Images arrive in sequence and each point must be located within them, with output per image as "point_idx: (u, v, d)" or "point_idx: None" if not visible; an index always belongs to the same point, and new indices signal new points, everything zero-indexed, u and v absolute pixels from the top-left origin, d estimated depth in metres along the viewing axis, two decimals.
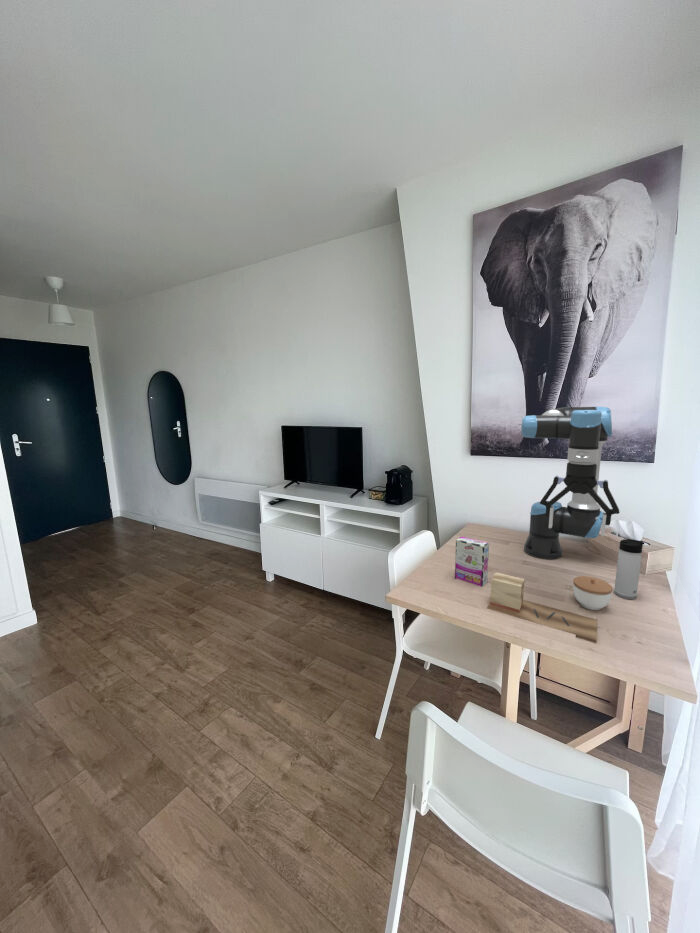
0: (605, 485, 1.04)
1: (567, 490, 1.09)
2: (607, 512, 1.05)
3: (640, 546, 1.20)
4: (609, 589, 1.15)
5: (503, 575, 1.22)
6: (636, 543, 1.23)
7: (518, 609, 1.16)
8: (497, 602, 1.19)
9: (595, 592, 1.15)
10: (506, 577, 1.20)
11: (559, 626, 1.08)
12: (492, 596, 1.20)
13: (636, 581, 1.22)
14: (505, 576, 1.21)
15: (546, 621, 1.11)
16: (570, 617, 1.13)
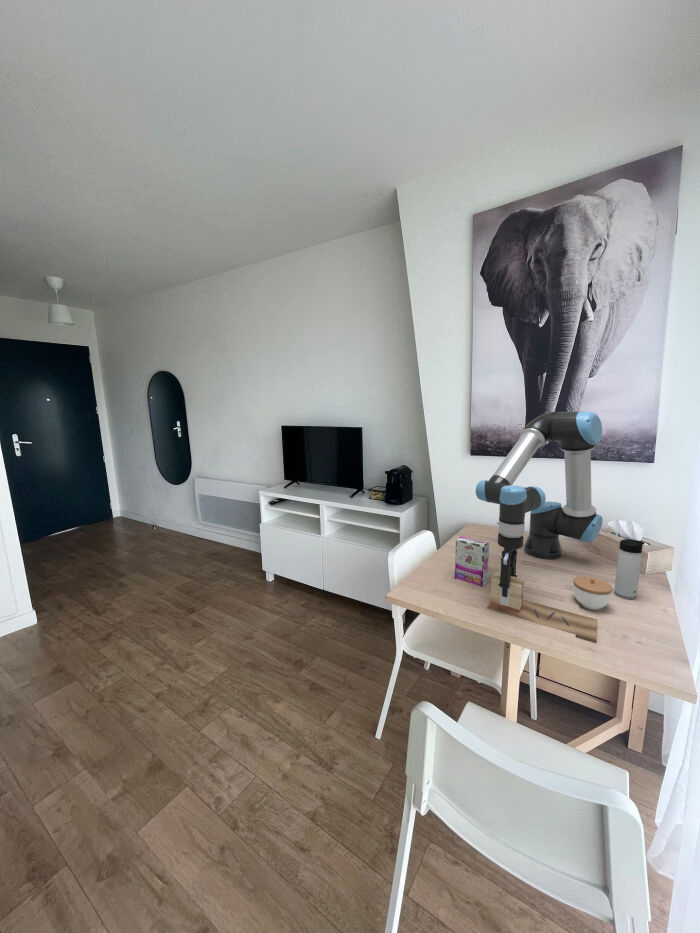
0: None
1: None
2: None
3: (640, 546, 1.20)
4: (609, 589, 1.15)
5: None
6: (636, 543, 1.23)
7: (518, 609, 1.16)
8: (497, 602, 1.19)
9: (595, 592, 1.15)
10: None
11: (559, 626, 1.08)
12: (492, 596, 1.20)
13: (636, 581, 1.22)
14: None
15: (546, 621, 1.11)
16: (570, 617, 1.13)
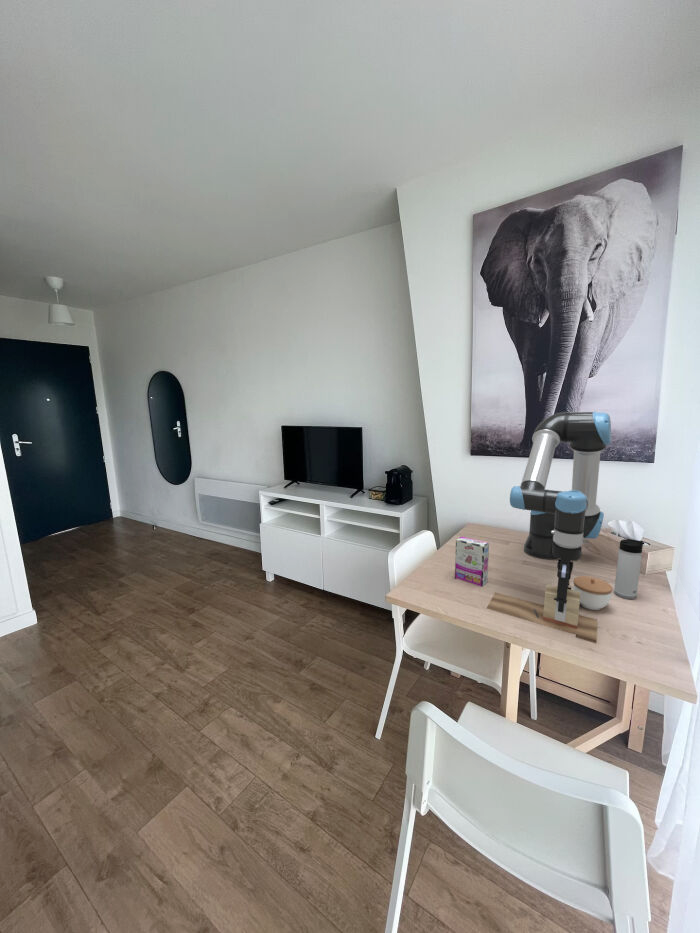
0: (558, 573, 1.05)
1: None
2: None
3: (640, 546, 1.20)
4: (609, 589, 1.15)
5: (556, 587, 1.13)
6: (636, 543, 1.23)
7: (576, 625, 1.07)
8: (551, 617, 1.10)
9: (595, 592, 1.15)
10: None
11: (559, 626, 1.08)
12: (545, 610, 1.11)
13: (636, 581, 1.22)
14: None
15: (546, 621, 1.11)
16: None
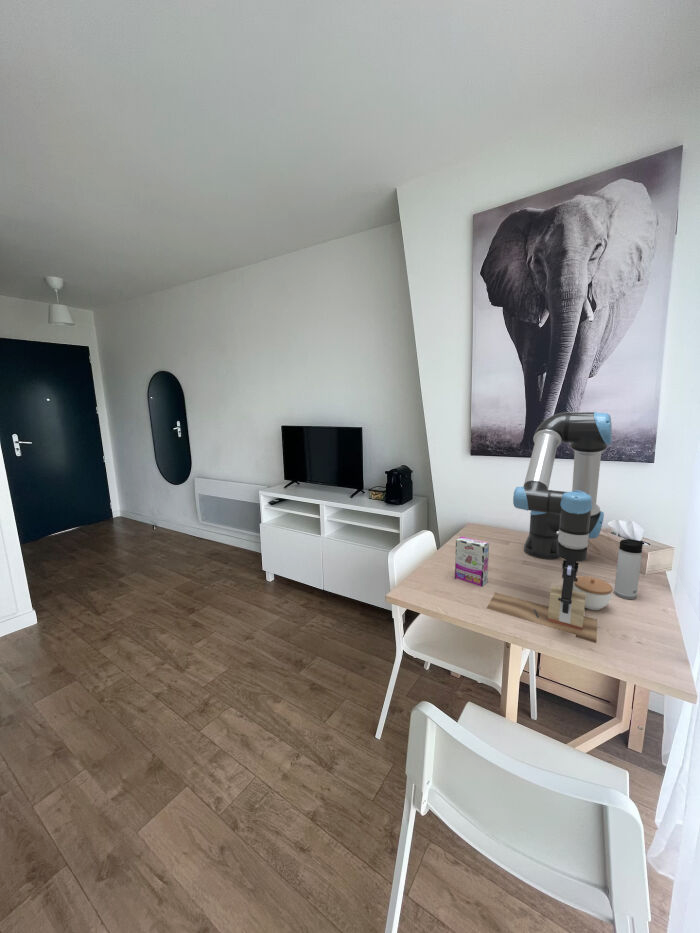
0: (564, 570, 1.03)
1: None
2: None
3: (640, 546, 1.20)
4: (609, 589, 1.15)
5: (561, 589, 1.12)
6: (636, 543, 1.23)
7: (581, 626, 1.06)
8: (556, 618, 1.10)
9: (595, 592, 1.15)
10: None
11: (559, 626, 1.08)
12: (550, 612, 1.10)
13: (636, 581, 1.22)
14: None
15: (546, 621, 1.11)
16: None
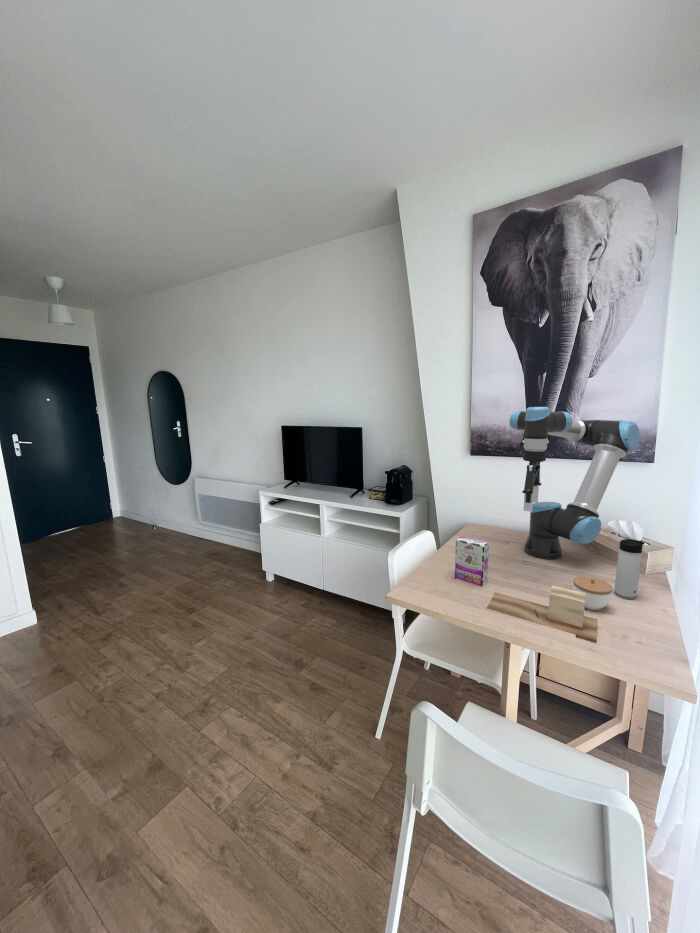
0: (527, 468, 1.28)
1: None
2: None
3: (640, 546, 1.20)
4: (609, 589, 1.15)
5: (561, 589, 1.12)
6: (636, 543, 1.23)
7: (581, 626, 1.06)
8: (556, 618, 1.10)
9: (595, 592, 1.15)
10: (565, 591, 1.11)
11: (559, 626, 1.08)
12: (550, 612, 1.10)
13: (636, 582, 1.22)
14: (564, 590, 1.11)
15: (546, 621, 1.11)
16: None
